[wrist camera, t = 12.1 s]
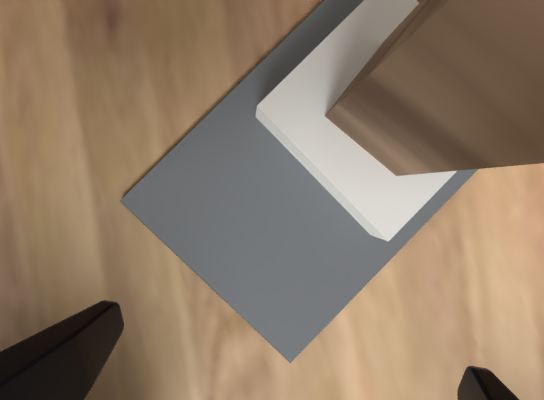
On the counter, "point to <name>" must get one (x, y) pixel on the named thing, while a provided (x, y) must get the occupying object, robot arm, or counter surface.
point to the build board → (291, 184)
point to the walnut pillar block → (452, 89)
